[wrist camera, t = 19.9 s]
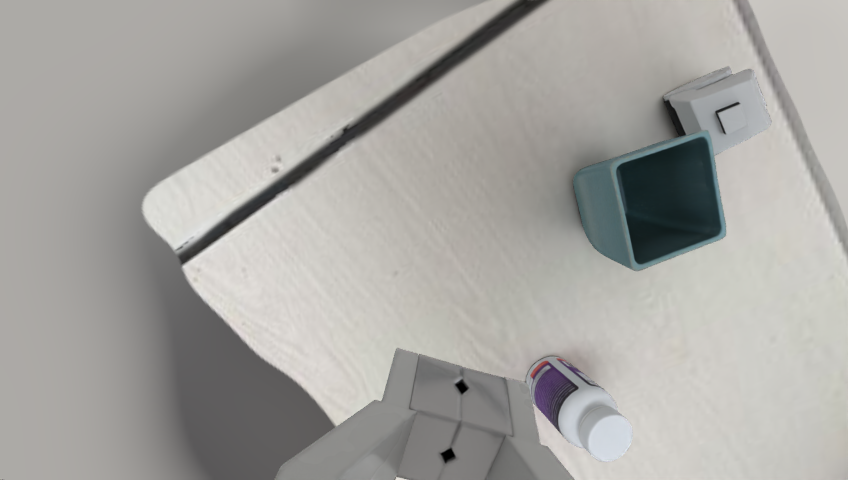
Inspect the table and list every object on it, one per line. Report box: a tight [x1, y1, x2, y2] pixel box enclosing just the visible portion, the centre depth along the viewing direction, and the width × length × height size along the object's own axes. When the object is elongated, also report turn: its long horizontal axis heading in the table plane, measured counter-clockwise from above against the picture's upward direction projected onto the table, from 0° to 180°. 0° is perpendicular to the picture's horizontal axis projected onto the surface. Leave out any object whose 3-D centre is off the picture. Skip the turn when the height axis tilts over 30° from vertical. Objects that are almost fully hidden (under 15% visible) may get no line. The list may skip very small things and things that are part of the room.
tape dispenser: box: [663, 66, 772, 156], centre depth 35 cm, size 6×7×10 cm
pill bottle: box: [526, 357, 633, 462], centre depth 36 cm, size 5×5×10 cm
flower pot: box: [573, 130, 726, 271], centre depth 35 cm, size 9×9×9 cm
